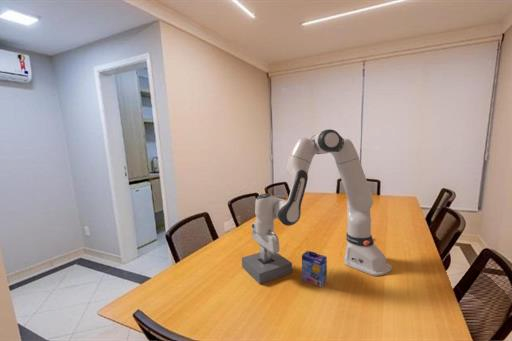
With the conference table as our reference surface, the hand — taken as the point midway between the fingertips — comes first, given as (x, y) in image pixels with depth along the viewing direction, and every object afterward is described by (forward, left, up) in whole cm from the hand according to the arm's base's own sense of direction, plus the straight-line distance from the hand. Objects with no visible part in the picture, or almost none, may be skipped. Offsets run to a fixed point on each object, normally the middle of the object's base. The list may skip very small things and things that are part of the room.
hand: (265, 254), depth 121 cm
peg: (0, 0, -4) cm, 4 cm away
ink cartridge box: (-20, -13, -8) cm, 25 cm away
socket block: (0, 0, -8) cm, 8 cm away
